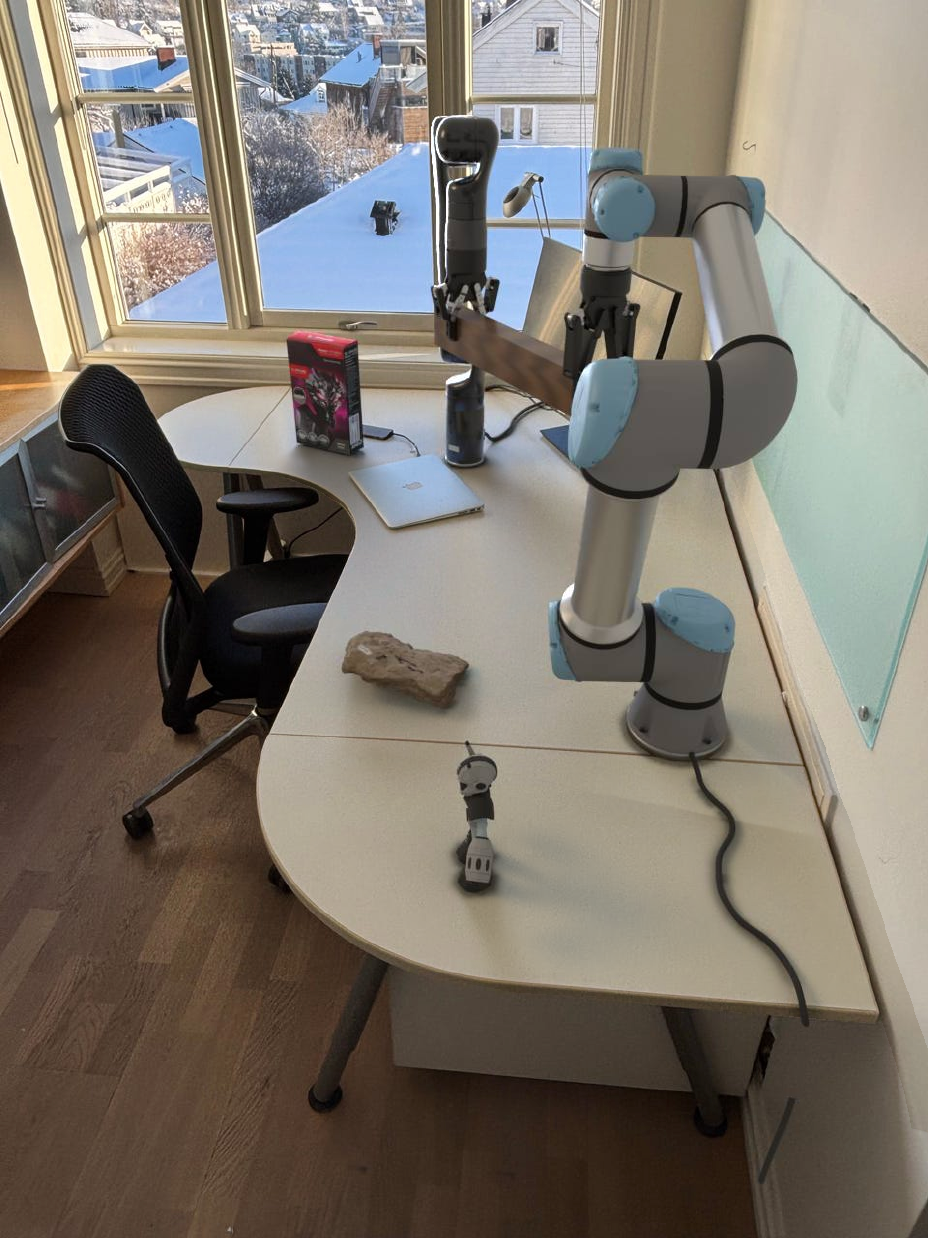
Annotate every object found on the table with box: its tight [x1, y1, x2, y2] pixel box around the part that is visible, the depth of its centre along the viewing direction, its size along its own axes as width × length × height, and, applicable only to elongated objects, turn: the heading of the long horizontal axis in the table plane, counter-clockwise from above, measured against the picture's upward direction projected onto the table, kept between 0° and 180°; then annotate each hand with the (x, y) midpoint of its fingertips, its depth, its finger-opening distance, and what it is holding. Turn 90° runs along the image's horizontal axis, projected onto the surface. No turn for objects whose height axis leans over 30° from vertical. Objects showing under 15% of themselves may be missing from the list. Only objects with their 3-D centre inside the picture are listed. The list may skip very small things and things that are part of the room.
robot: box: [455, 740, 498, 893], centre depth 114 cm, size 20×5×20 cm, turn 3°
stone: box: [341, 630, 470, 709], centre depth 151 cm, size 21×15×6 cm
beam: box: [433, 304, 581, 417], centre depth 161 cm, size 53×5×7 cm, turn 32°
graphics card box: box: [285, 330, 365, 456], centre depth 225 cm, size 17×7×27 cm, turn 62°
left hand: (464, 337), depth 175 cm, fingers closed on beam, 5 cm apart
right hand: (593, 415), depth 149 cm, fingers closed on beam, 5 cm apart
